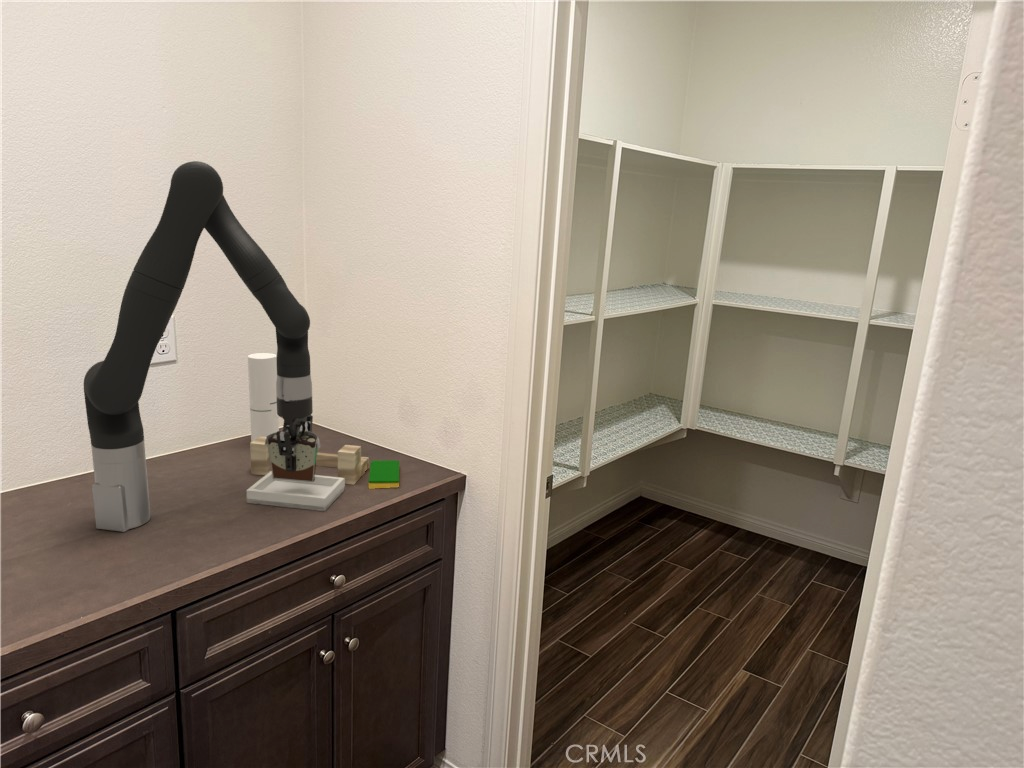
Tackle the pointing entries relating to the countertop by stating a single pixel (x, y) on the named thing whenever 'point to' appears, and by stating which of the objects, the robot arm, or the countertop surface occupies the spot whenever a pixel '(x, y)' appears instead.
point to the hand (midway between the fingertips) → (296, 466)
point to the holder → (345, 460)
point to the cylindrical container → (263, 394)
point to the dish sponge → (384, 474)
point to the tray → (296, 492)
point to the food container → (304, 458)
